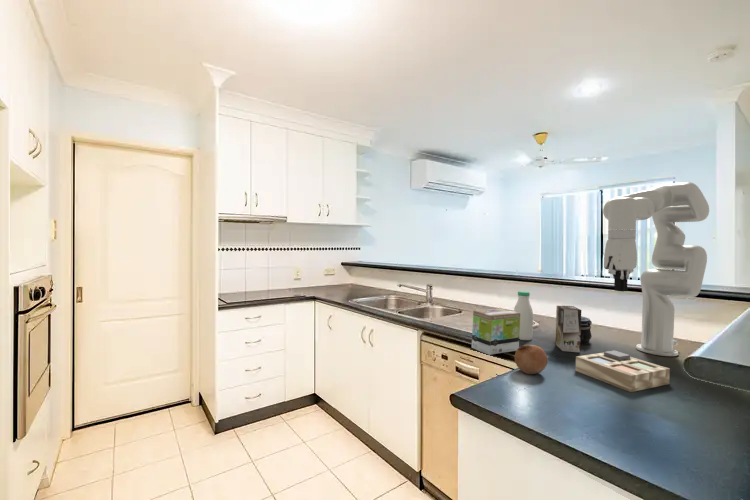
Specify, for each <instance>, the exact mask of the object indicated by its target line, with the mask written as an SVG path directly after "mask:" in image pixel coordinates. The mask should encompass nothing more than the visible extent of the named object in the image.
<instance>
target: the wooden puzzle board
mask: <svg viewBox="0 0 750 500" xmlns="http://www.w3.org/2000/svg"><path fill="white" fill-rule="evenodd" d="M594 358H600V359H603V360H607V361H610V362H611V363H605V364H602V363H599V362H596V361H594V360H591V359H594ZM635 363H640V364H643V365H647V366H650V367H653V368H651V369H643V368H640V367H637V366H634V365H631V364H635ZM617 366H625V367H628V368H631V369H634V370H637V371H635V372H626V371H623V370H620V369H617V368H614V367H617ZM670 369H671V368H669V367H666V366H662V365H659V364H656V363H652V362H648V361H646V360H643V359H639V358H636V357H633V356H630V360H623V361H618V360H615V359H612V358H609V357H606V356H604V352H599V353H590V354H585V355H578V356H575V371H576V372H578V373H580V374H583V375H586V376H588V377H591V378H593V379H596V380H598V381H601V382H604V383H606V384H608V385H611V386H613V387H616V388H618V389H621V390H624V391H627V392H630V393H634V392H637V391H642V390H643V391H644V390H647V389H651V388H652V389H653V388H657V387H661V386H665V385H670V374H671V373H670Z"/></svg>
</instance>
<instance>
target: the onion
mask: <svg viewBox="0 0 750 500" xmlns="http://www.w3.org/2000/svg"><path fill="white" fill-rule="evenodd" d="M548 359H549V358H548V356H547V353H546V352H545V350H544V349H543V347H540V346H538V345H535V344H524V345H521V346H519V348H518V349H517V351H515V354H514V363H515V365H516V367H517V368H518V369H519V370H520V371H521V372H522V373H524V374H527V375H535V374H536V375H537V374H540V373H542V372H543V371H544V370H545V368H546V367H547V366H548V364H549V363H548V361H549V360H548Z"/></svg>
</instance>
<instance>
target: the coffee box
mask: <svg viewBox="0 0 750 500" xmlns="http://www.w3.org/2000/svg"><path fill="white" fill-rule="evenodd" d="M555 314H556V317H555V322H556V323H555V345H556V347H557V348H558V349H559V350H561V351H562V352H571V353H580V352H581V345H580V335H581V316H582V309H580V308H578V307H576V306H574V305H556V313H555Z"/></svg>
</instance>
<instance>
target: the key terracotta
mask: <svg viewBox="0 0 750 500" xmlns="http://www.w3.org/2000/svg"><path fill="white" fill-rule="evenodd" d="M614 368H617V369H620V370H623V371H626V372H635V371H637V370H634V369H631V368H628V367H625V366H617V367H614Z"/></svg>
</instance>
